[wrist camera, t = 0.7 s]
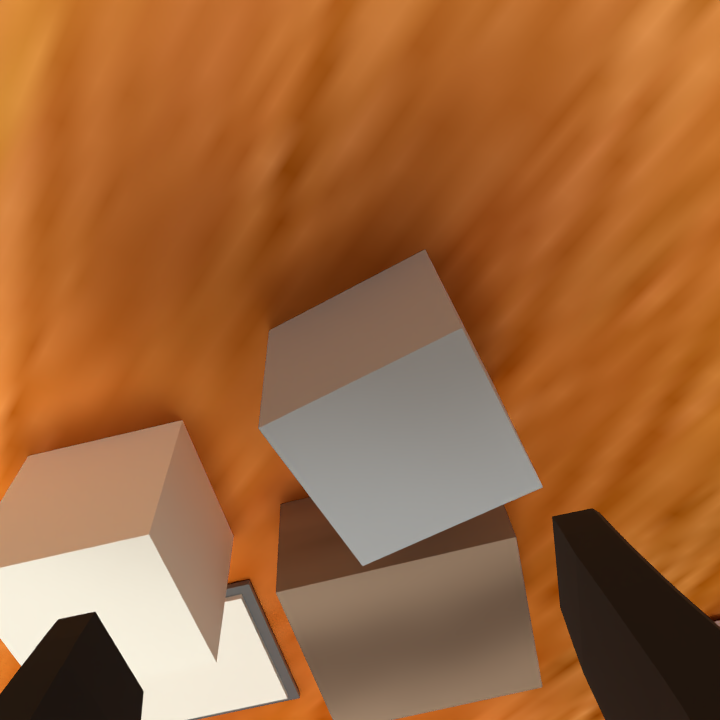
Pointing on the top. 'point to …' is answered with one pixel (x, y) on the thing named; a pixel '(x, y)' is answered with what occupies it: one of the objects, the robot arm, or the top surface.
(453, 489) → the slate cube
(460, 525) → the walnut slab
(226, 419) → the top surface
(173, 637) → the cream cube
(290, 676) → the swatch
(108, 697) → the robot arm
